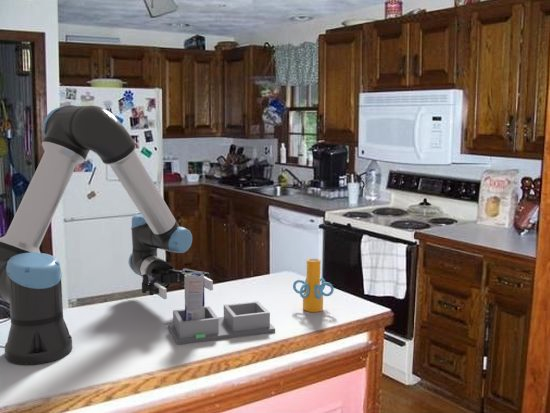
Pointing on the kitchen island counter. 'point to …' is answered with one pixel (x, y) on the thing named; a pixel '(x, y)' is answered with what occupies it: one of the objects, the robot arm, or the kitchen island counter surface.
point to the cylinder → (313, 287)
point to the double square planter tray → (222, 323)
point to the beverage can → (194, 296)
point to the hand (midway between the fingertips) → (189, 289)
